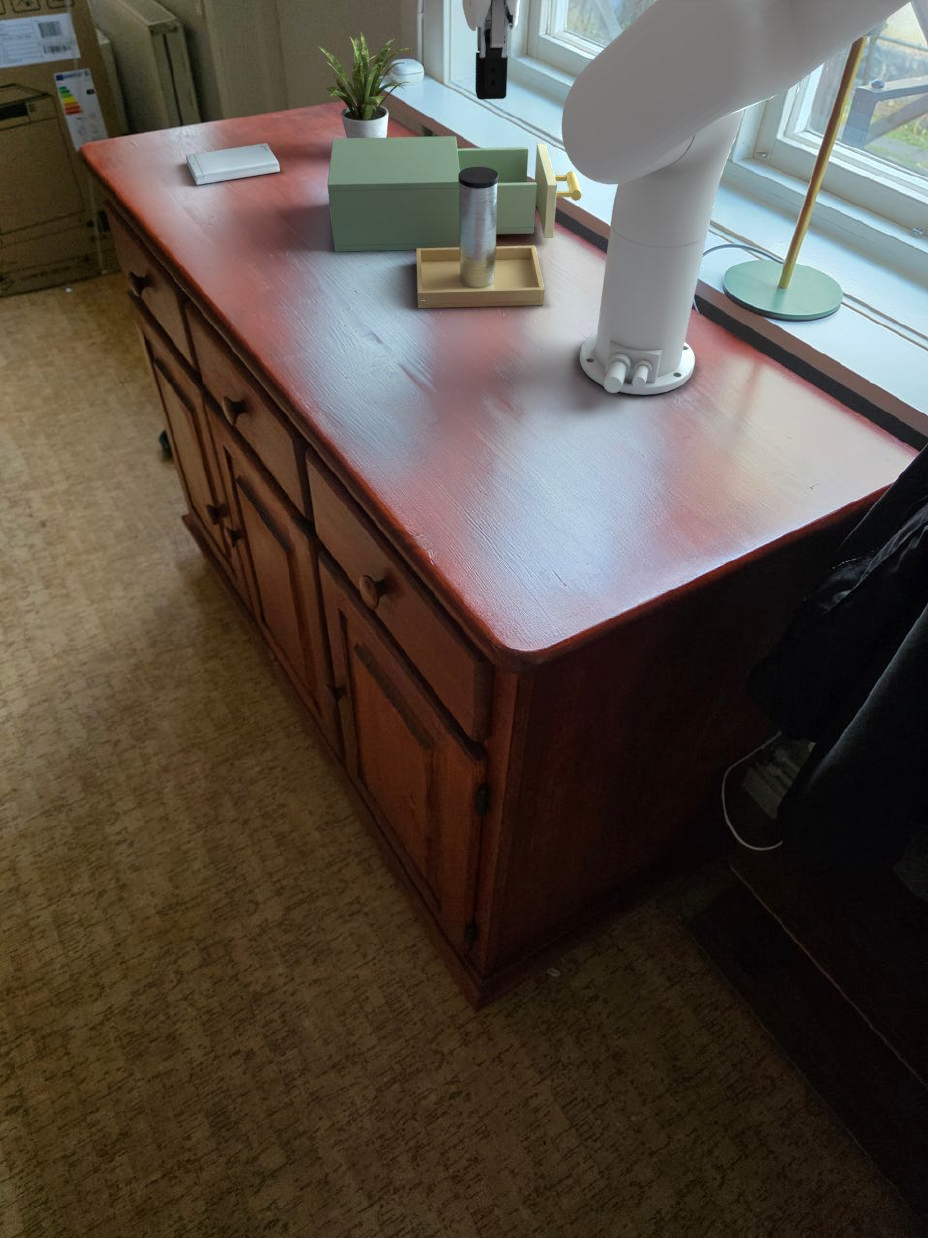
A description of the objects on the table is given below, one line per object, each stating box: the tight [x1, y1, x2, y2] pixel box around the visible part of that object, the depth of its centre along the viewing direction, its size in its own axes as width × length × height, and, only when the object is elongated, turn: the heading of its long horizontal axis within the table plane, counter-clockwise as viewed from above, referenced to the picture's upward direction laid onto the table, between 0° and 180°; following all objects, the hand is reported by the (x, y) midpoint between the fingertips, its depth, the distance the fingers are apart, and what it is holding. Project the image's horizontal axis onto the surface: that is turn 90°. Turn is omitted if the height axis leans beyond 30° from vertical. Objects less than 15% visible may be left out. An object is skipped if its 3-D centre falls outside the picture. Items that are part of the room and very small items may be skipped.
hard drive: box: [185, 142, 281, 186], centre depth 133 cm, size 2×8×12 cm
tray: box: [415, 245, 546, 309], centre depth 110 cm, size 15×11×2 cm
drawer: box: [457, 142, 583, 239], centre depth 119 cm, size 19×13×7 cm
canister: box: [458, 167, 499, 288], centre depth 106 cm, size 5×5×13 cm
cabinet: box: [327, 135, 460, 253], centre depth 118 cm, size 17×15×9 cm
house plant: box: [314, 31, 413, 138], centre depth 130 cm, size 14×14×16 cm
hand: (490, 95), depth 96 cm, fingers closed
